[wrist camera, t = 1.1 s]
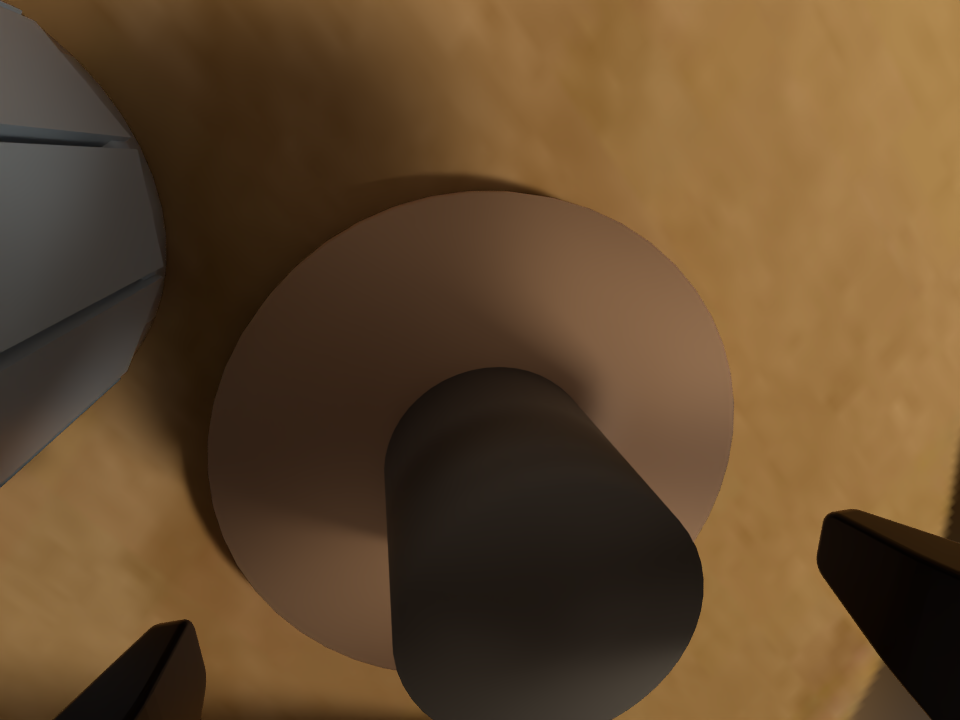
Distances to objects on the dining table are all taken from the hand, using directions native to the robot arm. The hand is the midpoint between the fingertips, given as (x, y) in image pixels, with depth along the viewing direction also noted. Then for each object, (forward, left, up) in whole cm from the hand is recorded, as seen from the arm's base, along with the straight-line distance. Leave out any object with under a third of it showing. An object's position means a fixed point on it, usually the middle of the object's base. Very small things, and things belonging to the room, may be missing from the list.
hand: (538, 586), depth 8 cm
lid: (0, 0, -4) cm, 4 cm away
